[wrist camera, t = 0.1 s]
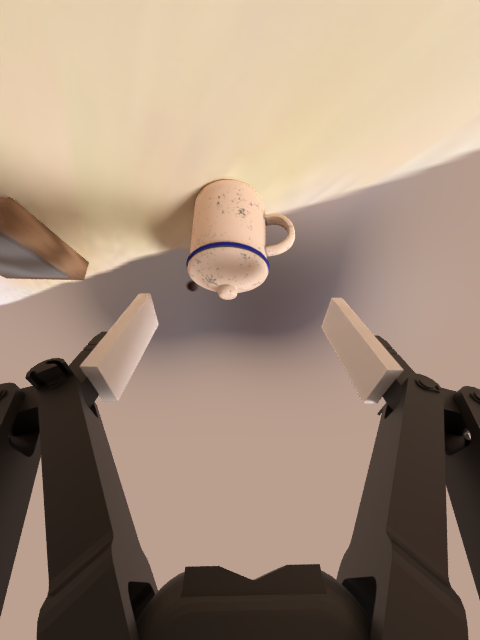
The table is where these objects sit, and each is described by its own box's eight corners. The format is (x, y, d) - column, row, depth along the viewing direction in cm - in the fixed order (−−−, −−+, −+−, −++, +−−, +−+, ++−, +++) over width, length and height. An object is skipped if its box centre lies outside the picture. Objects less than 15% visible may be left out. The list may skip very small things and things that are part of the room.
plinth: (-106, 194, 23) (-126, 221, 21) (11, 198, 23) (-2, 225, 22) (14, 260, 35) (5, 280, 34) (88, 262, 35) (83, 282, 34)
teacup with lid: (212, 242, 30) (208, 314, 27) (177, 189, 22) (164, 283, 18) (293, 224, 27) (301, 304, 23) (287, 152, 18) (298, 260, 15)
